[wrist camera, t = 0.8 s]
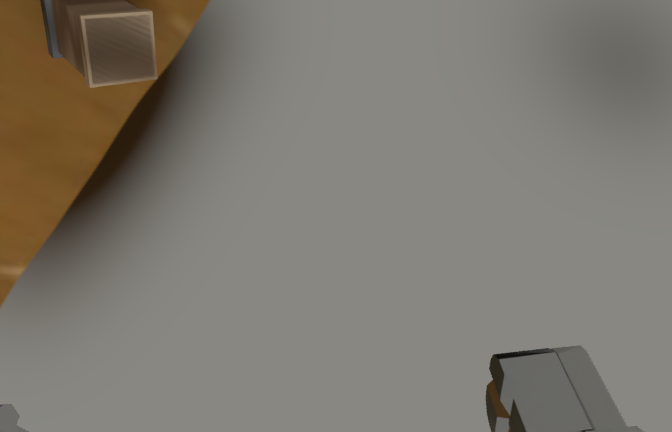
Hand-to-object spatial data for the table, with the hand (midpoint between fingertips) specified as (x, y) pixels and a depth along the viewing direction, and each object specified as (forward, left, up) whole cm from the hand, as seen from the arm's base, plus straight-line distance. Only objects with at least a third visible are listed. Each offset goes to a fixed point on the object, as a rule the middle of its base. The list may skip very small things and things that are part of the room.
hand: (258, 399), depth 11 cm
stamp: (+3, +9, -41) cm, 42 cm away
